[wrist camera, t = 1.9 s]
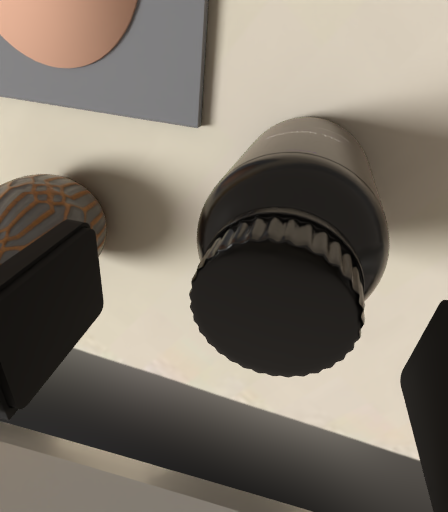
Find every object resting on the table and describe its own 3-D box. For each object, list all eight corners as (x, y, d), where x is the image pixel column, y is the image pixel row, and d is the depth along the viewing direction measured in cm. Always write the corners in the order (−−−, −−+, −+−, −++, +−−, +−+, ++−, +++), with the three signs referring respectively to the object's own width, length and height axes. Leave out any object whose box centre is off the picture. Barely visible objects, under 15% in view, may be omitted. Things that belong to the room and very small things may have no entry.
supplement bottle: (328, 84, 17) (331, 133, 7) (390, 199, 19) (465, 370, 9) (218, 161, 20) (109, 271, 10) (280, 252, 22) (243, 421, 12)
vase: (141, 234, 24) (60, 314, 17) (76, 266, 27) (-16, 346, 20) (77, 142, 22) (-50, 189, 14) (15, 189, 25) (-116, 247, 17)
